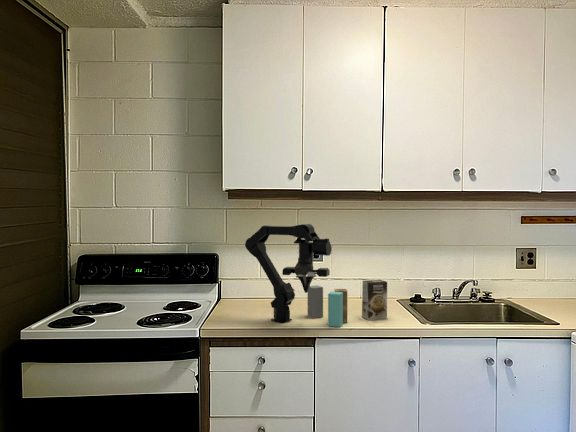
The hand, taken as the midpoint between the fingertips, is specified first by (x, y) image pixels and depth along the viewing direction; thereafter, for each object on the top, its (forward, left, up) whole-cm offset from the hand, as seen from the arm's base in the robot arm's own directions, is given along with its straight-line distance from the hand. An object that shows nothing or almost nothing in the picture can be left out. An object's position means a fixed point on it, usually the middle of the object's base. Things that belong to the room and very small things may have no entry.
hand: (306, 292), depth 182 cm
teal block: (+10, +6, -13) cm, 18 cm away
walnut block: (+8, +13, -13) cm, 20 cm away
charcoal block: (-5, +12, -13) cm, 18 cm away
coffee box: (+16, +27, -13) cm, 34 cm away
